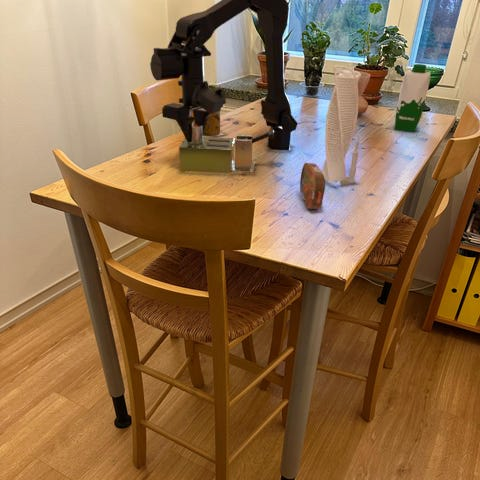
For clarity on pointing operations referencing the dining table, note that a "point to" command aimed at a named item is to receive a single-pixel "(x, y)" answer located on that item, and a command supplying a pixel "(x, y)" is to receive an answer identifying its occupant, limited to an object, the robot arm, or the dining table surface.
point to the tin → (312, 185)
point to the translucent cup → (197, 133)
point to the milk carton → (412, 98)
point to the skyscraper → (341, 127)
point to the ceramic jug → (361, 87)
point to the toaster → (207, 156)
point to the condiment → (213, 126)
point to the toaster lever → (263, 136)
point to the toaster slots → (218, 145)
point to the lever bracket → (243, 155)
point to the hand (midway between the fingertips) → (194, 140)
